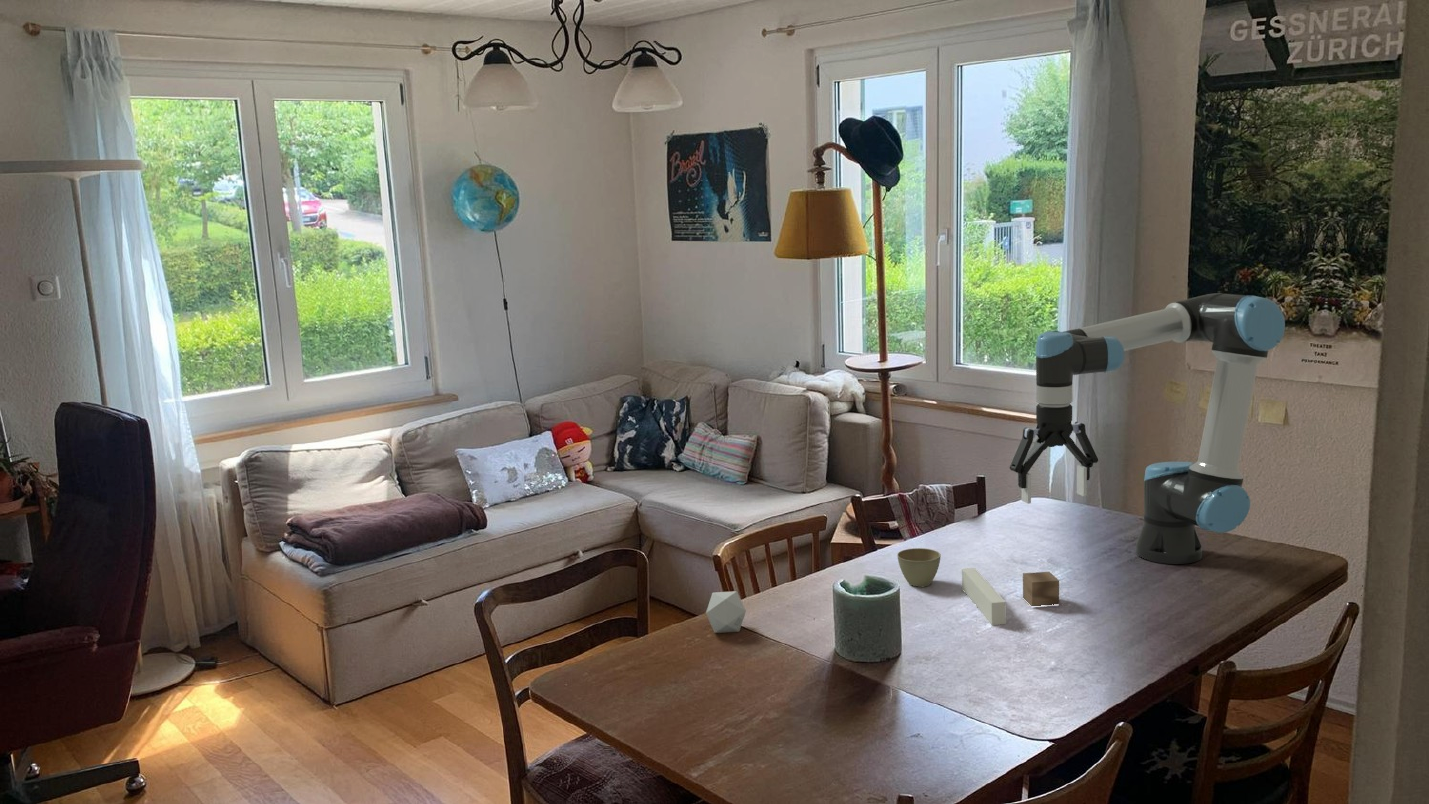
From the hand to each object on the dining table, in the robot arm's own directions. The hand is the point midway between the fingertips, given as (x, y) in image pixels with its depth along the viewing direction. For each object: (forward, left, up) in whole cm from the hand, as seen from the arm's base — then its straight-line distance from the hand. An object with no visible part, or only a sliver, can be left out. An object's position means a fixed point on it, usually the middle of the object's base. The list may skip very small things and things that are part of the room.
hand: (1054, 498), depth 243 cm
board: (+17, +3, -23) cm, 28 cm away
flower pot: (+27, -14, -23) cm, 38 cm away
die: (+74, +6, -23) cm, 78 cm away
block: (+4, +3, -23) cm, 23 cm away
